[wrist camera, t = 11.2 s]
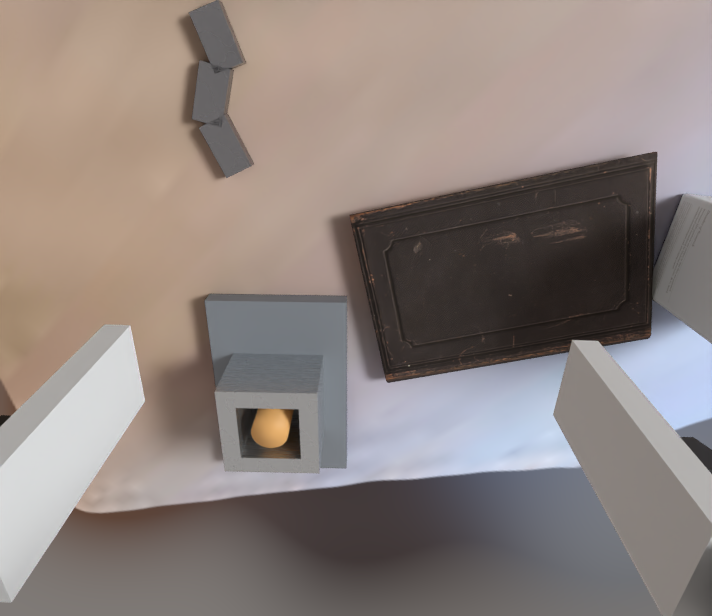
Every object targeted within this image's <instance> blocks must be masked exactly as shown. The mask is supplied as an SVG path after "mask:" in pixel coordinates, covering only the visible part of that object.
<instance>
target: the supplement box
mask: <svg viewBox="0 0 712 616" xmlns="http://www.w3.org/2000/svg"><path fill="white" fill-rule="evenodd" d="M652 299H653V300H654V301H655V302H657V303H658V304H659V305H661V306H662V307H663V308H665V309H666V310H668V311H669V312H670V313H671V314H673V315H674V316H675V317H677V318H678V319H679V320H681V321H682V322H684V323H685V324H686V325H688V326H689V327H690V328H692V329H693V330H694V331H695V332H697V333H698V334H699V335H701V336H702V337H704V338H705V339H706V340H708V341H709V342H710V343H712V197H710V196H702V195H694V194H683V196H682V198H681V201H680V203H679V206H678V208H677V211H676V214H675V216H674V219H673V221H672V224H671V227H670V229H669V232H668V234H667V237H666V239H665V242H664V244H663V247H662V250H661V252H660V255H659V257H658V260H657V262H656V265H655V268H654V270H653V289H652Z"/></svg>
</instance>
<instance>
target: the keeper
mask: <svg viewBox="0 0 712 616" xmlns="http://www.w3.org/2000/svg"><path fill="white" fill-rule="evenodd" d="M205 307H206V315H207V323H208V331H209V338H210V346H211V354H212V361H213V369H214V377H215V385H216V388H217V386H218V384H219V382H220V380H221V378H222V375H223V373H224V371H225V369H226V367H227V365H228V363H229V361H230V359H231V357H232V355H233V353H242V354H297V355H323V362H324V414H325V430H324V439H323V447H322V455H321V464H320V468H346V463H347V296H320V295H254V294H209V296H208V297H207V298H206V300H205ZM255 412H256V417H255V420H254V423H253V426H252V429H251V435H252V438H253V439H254V441H255V442H256V443H257V444H259V445H261V446H263V447H266V448H276V447H279V446H281V445H283V444H284V443H285V442H286V440H287V438H288V434H289V429H290V425H291V420H292V416H293V415H299V409H259V408H255Z"/></svg>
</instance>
